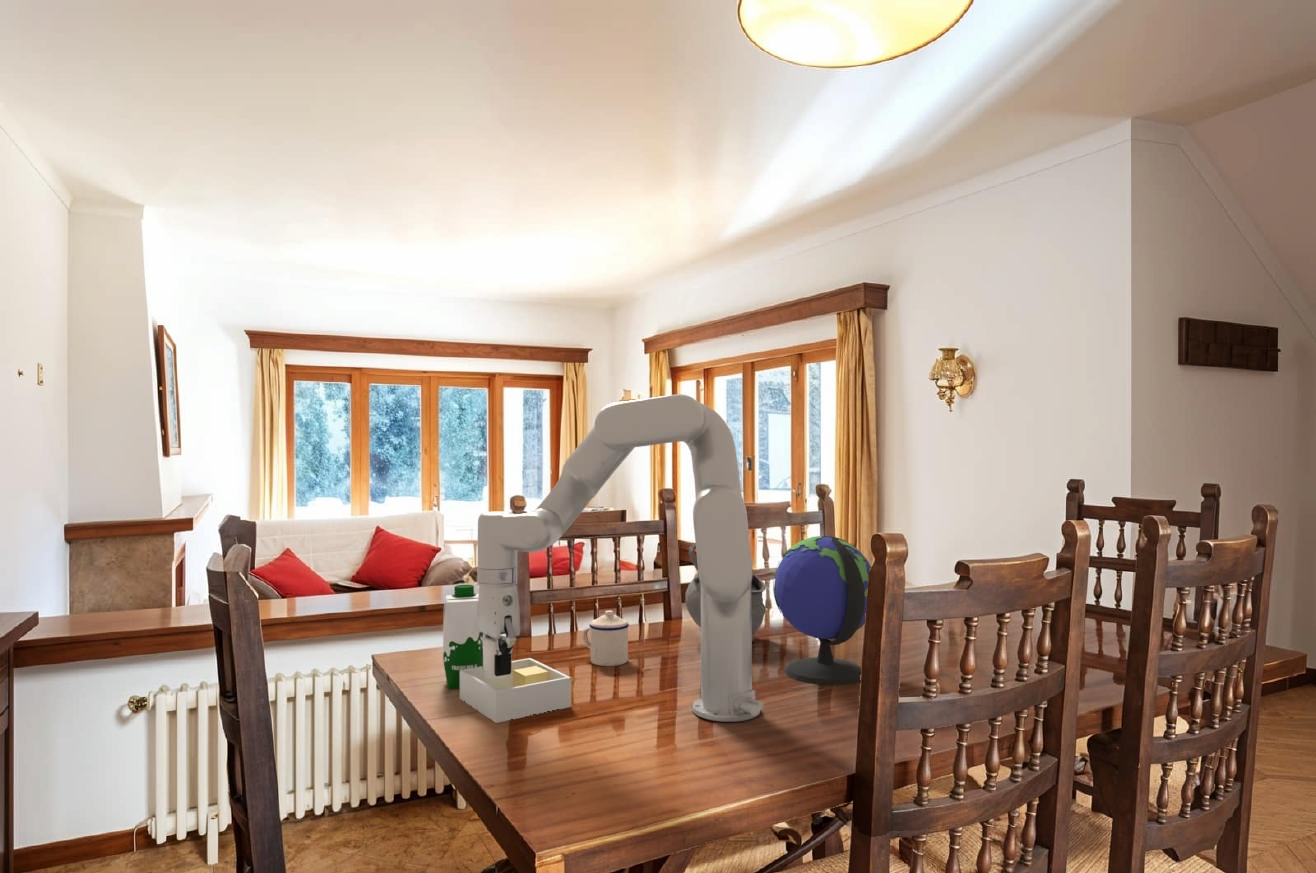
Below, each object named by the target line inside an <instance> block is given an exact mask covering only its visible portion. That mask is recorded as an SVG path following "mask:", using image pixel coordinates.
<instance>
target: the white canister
mask: <svg viewBox="0 0 1316 873" xmlns="http://www.w3.org/2000/svg"><path fill="white" fill-rule="evenodd" d="M501 637H506V635H501ZM501 637H500V638H501ZM505 641H506V640H504V641H501V646H502V644H503V642H505ZM496 654H497V652H496V643H495V638H493V637H486V638H484V639H483V677H484V678H486V679H502V678H506V677H508V676H509V674H508V675H503V676H495V674H494V666H495V655H496Z"/></svg>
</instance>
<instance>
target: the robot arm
mask: <svg viewBox="0 0 1316 873" xmlns="http://www.w3.org/2000/svg"><path fill="white" fill-rule="evenodd" d="M681 442H683V443H684V444H686V446H687V447H688V449H689V452H690V455H691V463H692V464H691V465H692V472H693V478H694V479H693V480H694V489H695V490H694V491H695V501H694V505H693V510H692V519H693V521H692V522H693V530H694V531H693V532H694V533H693V534H694V539H695V540H694V541H695V543H696V548H695V550H696V560H697V562H698V571H697V574H698V573H699V580H700V583H701V627H700V698H698V699H696V700H695V701H694V702H693V703H692V711H693V714H695V715H696V716H698V717H699V718H702V719H705V720H709V721H713V722H714V721H715V722H724V723H733V722H734V723H737V722H743V721H748V720H752V719H755V718H756V717H757V716H759V715H760V713H761V710H762V709H764V703H763V702H762V701H760V700H756V690H754V689H753V683H752V682H753V675H752V674H753V668H752V667H753V665H752V664H753V662H752V661H753V659H752V658H753V657H752V656H753V655H752V654H753V652H752V650H753V648H752V646H753V644H752V642H753V641H752V600H751V583H752V577H753V573H754V572H753V563H752V552H751V551H752V550H751V541H750V533H749V532H750V531H749V521H748V513H747V508H746V507H747V506H746V504H745V501H744V498H743V494H742V488H741V480H740V471H739V470H740V469H739V465H738V457H737V450H736V444H735V440H734V438H733V434H732V432H731V429H730V428H729V426H728V424H727V423H726V421H725V420H724V419H723V417H722V416H721V415H719V413H718V412H717V411H715V410H714V409H713V408H711V407H709V406H708V405H706V404H704V403H702V402H699V401H698V400H696V399H695V398H694V397H692V396H690V395H686V394H682V393H681V394H676V393H675V394H669V395H664V396H656V397H649V398H643V399H634V400H629V401H628V400H627V401H619V402H612V403H609V404H607V405H606V406H604V407H603V408H601V409H600V410H599V412H598V413H597V415H596V417H595V419H594V426H593V427H592V428H591V430H590V431H589V432H588V433H587V435H586V436H585V437H584V438H583V440H582V441H581V442H580V443H579V444H578V446H577V447H576V448H575V449H574V450H573V452H572V453H570V455H569V456H568V457H567V459H566V460H565V461H564V464H563V466H562V470H561V474H560V476H559V478H558V480H557V482H556V483H555V485H554V487H553V488H552V489H551V490H550V492H549V493H548V494H547V495H546V497H545V498H544V499H543V500H542V502H540V504H539V505H538V506H537V507H536V508H535V510H532V511H531V512H527V513H520V514H515V513H514V512H511V511H499V510H498V511H485V512H482V513H481V514H480V515H479V516H478V519H477V573H476V574H477V575H476V576H477V580H476V581H477V582H476V583H477V584H476V585H478V586H479V588H478V594H479V597H478V628H479V630H480V631H481V637H482V647H483V639H484V638H486V637H493V638H495V643H496V652H497V654H496V655H495V666H494V674H495V676H503V675H508V674H511V661H512V655H513V648H514V645H515V643H516V642H517V637H519V636H520V633H521V621H520V620H521V618H520V601H519V593H518V586H517V584H518V551H519V552H523V553H524V552H525V553H539V552H542V551H544V550H545V549H547V548H549V547H551V546H552V545H554V544H556V543H557V542H558V541H559V540H560V539H561V537H562V536H563V535H564V534H565V533H566V532H567V531H568V529H569V528H570V527H571V525H572V524H573V523H574V522H575V521H576V519H578V517H579V516H580V515H581V514H582V512H583V511H584V510H585V508H586V507H587V505H588V504H589V503H590V502H591V501H592V500H593V499H594V498H595V497H596V496H597V494H598V493H599V492H600V490H601V489H602V487H603V486H604V485H605V484H606V482H608V480H609V479H610V478H611V477H612V475H613V474H614V473H615V471H616V470H617V469H618V468H619V467H620V465H621V464H622V463H623V462H624V461H625V459H627V458H628V456H629V455H630V454H631V453H632V451H633V450H634V449H635V448H639V447H640V448H641V447H649V446H657V445H662V444H664V445H665V444H669V443H670V444H671V443H681ZM502 635H505V636H506V637H501V636H502ZM500 637H501V638H500ZM504 640H506V641H505V642H503V644H502V646H501V641H504ZM482 668H483V648H482Z"/></svg>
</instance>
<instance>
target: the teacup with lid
mask: <svg viewBox="0 0 1316 873" xmlns="http://www.w3.org/2000/svg"><path fill="white" fill-rule="evenodd" d="M629 624H630V623H629V622H628V620H626V619H624V618H621V617H620V616H619V615H616V614H614V611H613V610H611V609H610V610H605V612H604V614H603V615H601V616H599V617H598V618H595V619H593V620H591V621H590V623H589V625H588V627H586V628H584V630H583V631H582V640H583V643H584V644H585V646H586V647H587V648H588V649H590V662H591V664H593V665H595V666H600V667H615V666H616V667H617V666H621V665H622V666H623V665H624V664H626V663H627V662H628V660H629V630H628V629H629V628H628V627H629V626H630V625H629ZM589 631H590V634H589V635H590V637H589V638H590V641H589V638H588V632H589Z"/></svg>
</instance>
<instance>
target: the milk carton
mask: <svg viewBox="0 0 1316 873" xmlns="http://www.w3.org/2000/svg"><path fill="white" fill-rule="evenodd" d="M474 589H475V586H474V585H473V584H459V585H458V584H457V585H455V586H454V590H453V591H454V594H448V595H445V599H444V605H443V609H444V610H443V613H442V614H443V615H442V618H443V624H442V625H443V626H442V628H443V630H442V633H443V634H442V638H443V639H442V641H443V643H442V650H443V651H442V657H443V658H442V659H443V660H442V661H443V668H444V673H445V678H446V683H447V689H448V690H453V689H460V670H463V669H469V668H475V667H480V666H482V648H483V647H482V637H481V631H480V630H479V628H478V597H479V593H475V590H474Z"/></svg>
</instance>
